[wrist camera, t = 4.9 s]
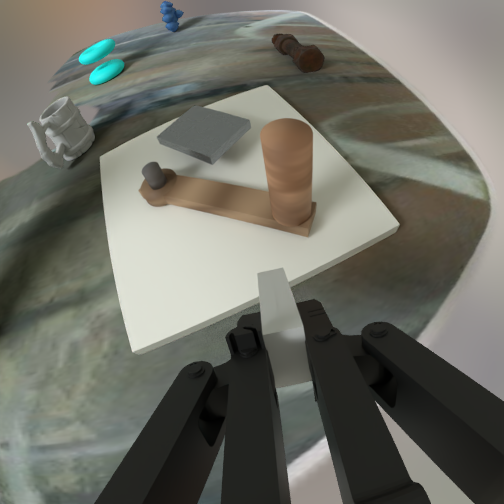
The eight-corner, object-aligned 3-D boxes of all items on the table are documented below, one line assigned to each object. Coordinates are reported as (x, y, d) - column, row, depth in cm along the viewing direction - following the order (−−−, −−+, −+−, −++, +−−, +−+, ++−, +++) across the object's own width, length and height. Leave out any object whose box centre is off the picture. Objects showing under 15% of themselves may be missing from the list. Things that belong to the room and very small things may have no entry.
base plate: (140, 354, 25) (132, 352, 24) (104, 163, 40) (99, 157, 38) (395, 232, 28) (399, 224, 26) (268, 92, 42) (267, 84, 41)
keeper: (169, 164, 37) (156, 136, 32) (203, 132, 39) (194, 104, 35) (220, 187, 33) (209, 157, 29) (255, 150, 36) (249, 119, 31)
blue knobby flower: (186, 33, 66) (176, -1, 55) (164, 39, 66) (153, 6, 56) (189, 23, 71) (181, -7, 61) (169, 28, 72) (160, -1, 61)
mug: (102, 128, 45) (74, 79, 35) (76, 176, 40) (37, 123, 29) (73, 136, 47) (45, 92, 36) (47, 182, 41) (10, 137, 31)
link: (139, 203, 32) (95, 137, 23) (157, 174, 34) (122, 107, 24) (305, 244, 26) (307, 160, 17) (317, 206, 28) (321, 119, 19)
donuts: (99, 50, 47) (70, 61, 49) (114, 81, 56) (85, 90, 58) (119, 33, 52) (91, 44, 54) (132, 62, 60) (104, 71, 62)
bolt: (283, 53, 53) (315, 77, 46) (262, 47, 51) (293, 70, 43) (293, 31, 49) (329, 52, 41) (272, 24, 47) (306, 42, 39)
